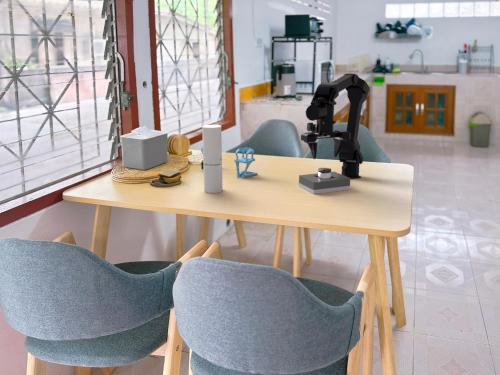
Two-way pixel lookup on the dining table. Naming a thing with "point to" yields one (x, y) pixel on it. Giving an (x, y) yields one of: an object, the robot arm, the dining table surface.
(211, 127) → the cylindrical container
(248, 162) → the chair
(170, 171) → the toy sandwich meal
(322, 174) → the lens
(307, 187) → the grey plate with pocket
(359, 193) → the dining table surface
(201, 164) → the watch
